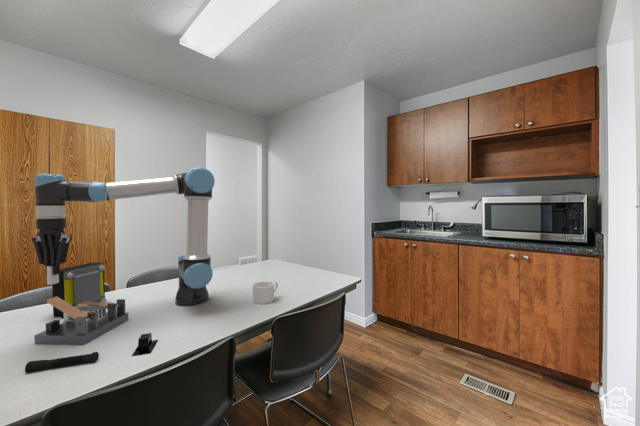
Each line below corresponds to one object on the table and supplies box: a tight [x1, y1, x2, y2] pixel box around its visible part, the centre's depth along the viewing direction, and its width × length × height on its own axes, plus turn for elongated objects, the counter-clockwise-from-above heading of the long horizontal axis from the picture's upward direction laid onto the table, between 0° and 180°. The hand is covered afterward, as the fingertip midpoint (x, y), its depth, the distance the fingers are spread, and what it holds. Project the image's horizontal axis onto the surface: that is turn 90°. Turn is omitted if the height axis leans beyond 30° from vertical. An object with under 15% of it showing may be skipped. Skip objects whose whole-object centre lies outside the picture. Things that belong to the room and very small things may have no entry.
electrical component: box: [51, 262, 107, 319], centre depth 124 cm, size 18×10×20 cm, turn 168°
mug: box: [252, 281, 279, 305], centre depth 134 cm, size 13×10×8 cm
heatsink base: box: [33, 298, 130, 346], centre depth 102 cm, size 18×20×9 cm
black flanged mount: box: [131, 332, 159, 357], centre depth 90 cm, size 12×7×5 cm, turn 18°
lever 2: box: [78, 301, 117, 310], centre depth 109 cm, size 14×3×1 cm, turn 87°
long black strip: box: [24, 351, 100, 374], centre depth 80 cm, size 3×16×3 cm, turn 107°
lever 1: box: [46, 296, 89, 320], centre depth 96 cm, size 14×3×1 cm, turn 88°
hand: (53, 283), depth 96 cm, fingers closed
